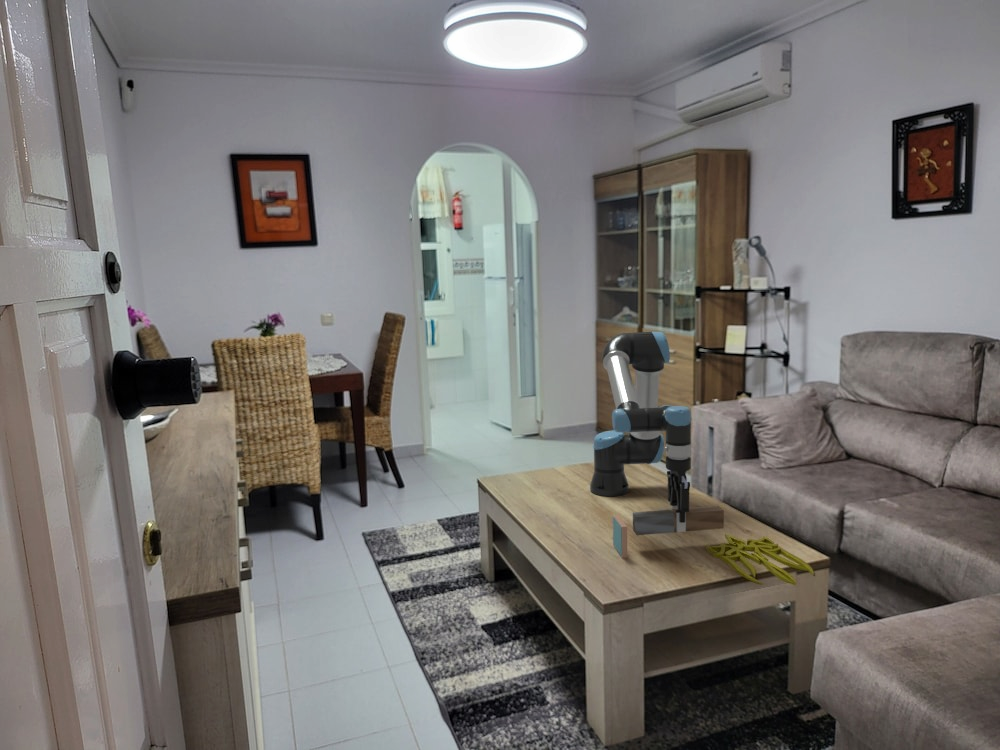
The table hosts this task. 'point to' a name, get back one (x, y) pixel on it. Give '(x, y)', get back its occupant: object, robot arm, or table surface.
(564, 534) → the table surface
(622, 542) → the tile
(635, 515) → the brown and grey bar
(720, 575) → the table surface
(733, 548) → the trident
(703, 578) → the table surface
